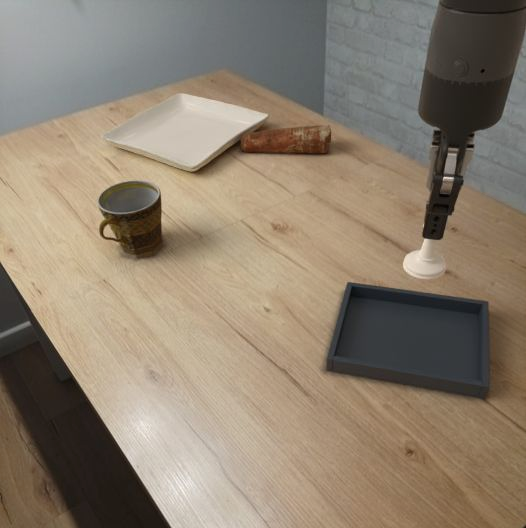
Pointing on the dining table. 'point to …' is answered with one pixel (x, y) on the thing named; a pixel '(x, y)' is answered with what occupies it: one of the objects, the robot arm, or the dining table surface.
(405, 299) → the tray
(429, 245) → the chess piece
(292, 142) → the rusty brown tapered cylinder
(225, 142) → the square plate
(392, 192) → the dining table surface
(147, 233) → the ceramic cup
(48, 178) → the dining table surface
